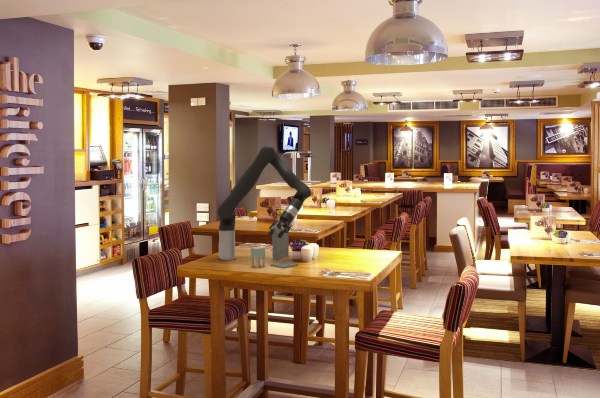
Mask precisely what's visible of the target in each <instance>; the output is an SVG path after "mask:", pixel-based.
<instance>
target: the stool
mask: <svg viewBox="0 0 600 398" xmlns="http://www.w3.org/2000/svg"><path fill="white" fill-rule="evenodd" d="M250 257H251V258H250V259H251V260H250V261H251V262H250V263H251V268H254V267H255V268H256V269H259V268H260V266H261V260H262V268H265V267H266V247H263V246H253V247H250ZM261 258H262V259H261Z"/></svg>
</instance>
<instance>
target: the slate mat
mask: <svg viewBox="0 0 600 398" xmlns="http://www.w3.org/2000/svg"><path fill="white" fill-rule="evenodd" d="M269 265H270V266H271V267H273V268H274V267H275V268H279V269H280V268H281V269H287V268H294V267H298V266H299V264H298V263H295V262H294V263H293V262H288V261H281V262H276V263H270V264H269Z"/></svg>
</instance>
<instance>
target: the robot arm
mask: <svg viewBox="0 0 600 398" xmlns="http://www.w3.org/2000/svg"><path fill="white" fill-rule="evenodd" d="M269 164H270V165H271V166H272V167H273V168H274V169H275V170H276V171H277V173H278V174H279V175H280V177H281V179H283V181H284V182H285V183H286V185H288V186H289V188H291V189H294V190H296V192H295V194H294V195H293V197H292V199H291V200H290V202H289V203H288V205H287V206H286V207H284V208H285V209H283V211H282V212H281V214H280V215H279V216H278V217H279V220H278V221H277V220H273V222H272V223H271V225H270V226H269V228H268V229H269V231H268V234H267V235H268V237H270V238H272V234H273V233H274V231H276V230H279V229H281V231H280V233H279V234H278V238H281V237H282V236H283V234H285V233H288V234H289V232H290V230H291V228H292V227H293V224H292V222H293V221H294V220H295V218H296V217H297V215H298V213H299V212H300V210H301V209H302V207H303V204H304V202H305V201H306V200H307V199H308V198H310V197H311V195H312V190H311V188H310V187H309V186H308V185H307V184H306V183H305V182H303V181H302V180H300V179H299V178H298V176H297V175H296V174H295V173H294V172H293V171H292V170H291V168H289V166H288V165H286V163H285V162H284V161H283V159H282V158H281V157H280V156H279V154H278V152H277V150H276V148H275V147H274V146H273V145H270V144H267V145H264V146H261V148H260V149H259V151H258V153H257V155H256V157H255V158H254V160H253V162H252V163H251V164H250V165H249V167H248V168H247V169H246V170H245V171H244V172H243V173H242V175H241V176H240V177H239V179H238V180H237V182H236V183H235V185H234V187H233V189H232V190H231V192H230V193H229V195H228V196H227V197H226V199H224V201H223V202H222V203H221V204H220V205H219V207H218V208H217V216H218V217H219V225H218V238H219V239H218V241H219V242H218V259H219V260H223V261H230V260H235V259H236V234H235V233H236V231H235V229H236V209H237V208H238V207H237V206H238V205H239V204H240V202H241V201H242V200H243V199H245V197H246V196H248V194H249V193H250V192H251V191H252V189H253V187H255V185H256V184H257V182H258V181H259V178H260V176H261V175H262V173H263V171H264V170H265V168H266V167H267V166H268V165H269ZM286 229H287V230H286Z"/></svg>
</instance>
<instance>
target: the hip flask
mask: <svg viewBox="0 0 600 398" xmlns="http://www.w3.org/2000/svg"><path fill="white" fill-rule="evenodd" d="M286 230H287V229H286ZM280 231H281V229H279V230H276V231H274V233H273V234H272V236H271V240H272V241H271V242H272V244H271V245H272V247H271V248H272V250H271V251H272V261H278V260H280V259H285V258H289V256H290V252H289V251H290V250H289V247H290V246H289V245H290V244H289V232H288V233H285V234H283V236H282V237H281V238H278V234H279V233H280Z"/></svg>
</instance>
